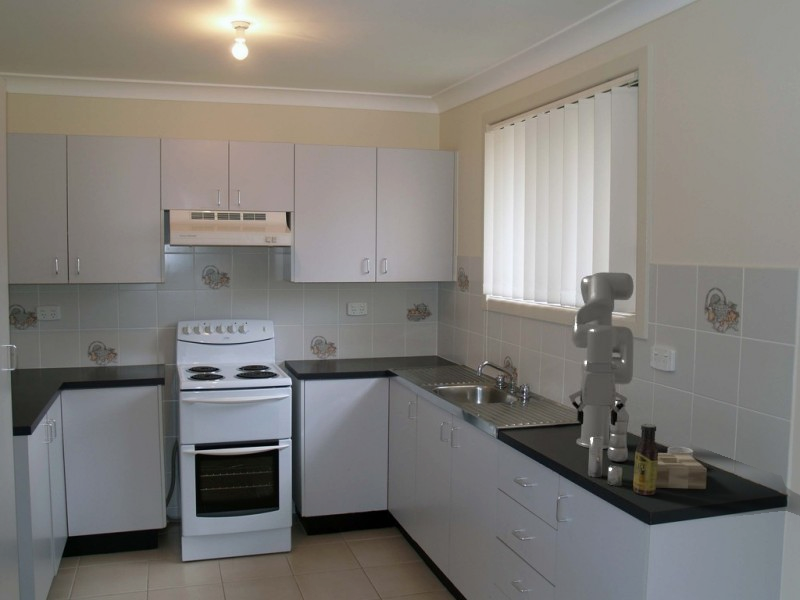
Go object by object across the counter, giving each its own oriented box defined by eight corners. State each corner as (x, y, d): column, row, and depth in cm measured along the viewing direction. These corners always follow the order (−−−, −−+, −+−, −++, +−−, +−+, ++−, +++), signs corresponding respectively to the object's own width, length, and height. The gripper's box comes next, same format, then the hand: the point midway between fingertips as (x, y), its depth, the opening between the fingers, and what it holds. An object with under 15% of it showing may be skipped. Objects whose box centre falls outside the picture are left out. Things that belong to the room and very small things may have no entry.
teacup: (683, 462, 252) (684, 446, 252) (697, 468, 245) (698, 452, 244) (656, 463, 250) (656, 447, 249) (669, 470, 242) (670, 453, 242)
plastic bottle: (605, 462, 250) (608, 401, 248) (608, 457, 256) (610, 398, 255) (626, 464, 247) (629, 403, 246) (628, 459, 254) (630, 399, 252)
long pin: (586, 473, 237) (588, 435, 236) (599, 473, 237) (601, 435, 236) (589, 477, 233) (591, 438, 232) (602, 477, 233) (604, 439, 232)
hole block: (635, 471, 241) (636, 452, 240) (687, 472, 240) (688, 453, 240) (650, 487, 225) (651, 467, 224) (705, 488, 224) (706, 468, 224)
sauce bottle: (628, 489, 222) (631, 422, 221) (648, 488, 224) (651, 421, 222) (640, 497, 216) (643, 427, 214) (660, 496, 217) (663, 426, 216)
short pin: (606, 482, 229) (606, 465, 229) (619, 482, 229) (620, 466, 229) (609, 486, 225) (609, 469, 225) (623, 486, 225) (623, 469, 225)
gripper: (624, 367, 236) (622, 422, 237) (568, 365, 237) (566, 420, 237) (631, 370, 229) (628, 427, 229) (572, 369, 229) (570, 425, 230)
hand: (596, 424), depth 233 cm, fingers open, 9 cm apart
